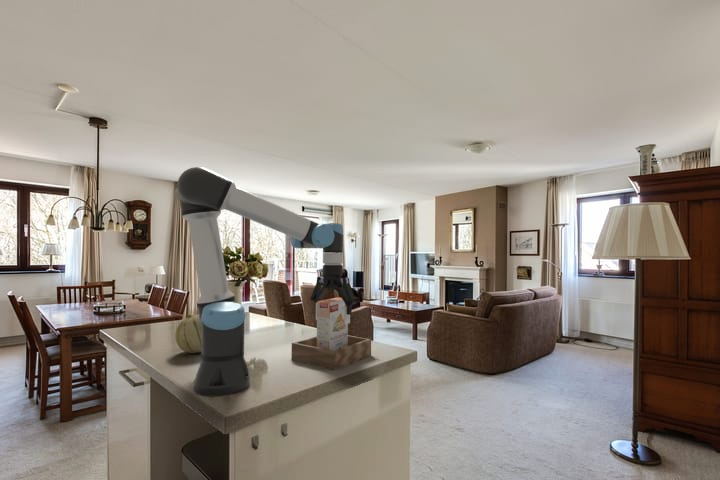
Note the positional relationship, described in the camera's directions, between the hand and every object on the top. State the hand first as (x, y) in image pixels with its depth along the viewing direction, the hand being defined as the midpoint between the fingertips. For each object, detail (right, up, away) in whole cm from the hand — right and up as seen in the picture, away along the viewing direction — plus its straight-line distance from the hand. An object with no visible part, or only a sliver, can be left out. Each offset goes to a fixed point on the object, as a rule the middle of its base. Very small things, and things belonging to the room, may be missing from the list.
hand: (332, 321), depth 133 cm
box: (0, -13, -1) cm, 13 cm away
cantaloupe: (-53, -14, +6) cm, 55 cm away
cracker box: (0, -13, -1) cm, 13 cm away
